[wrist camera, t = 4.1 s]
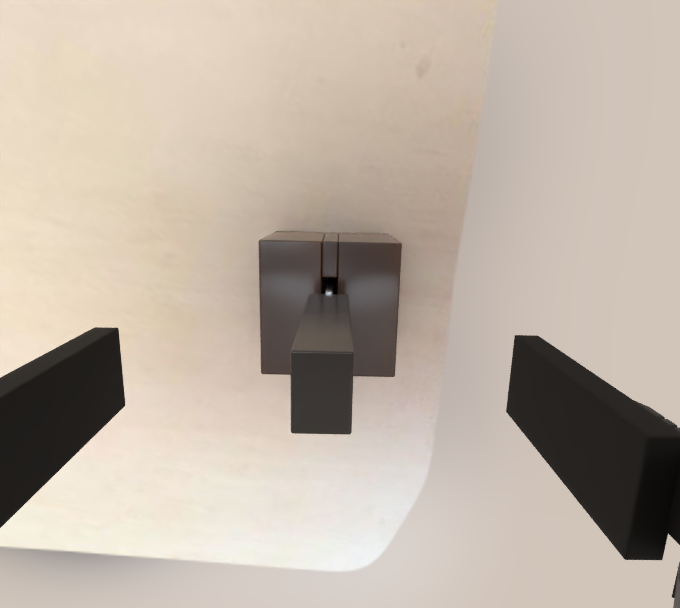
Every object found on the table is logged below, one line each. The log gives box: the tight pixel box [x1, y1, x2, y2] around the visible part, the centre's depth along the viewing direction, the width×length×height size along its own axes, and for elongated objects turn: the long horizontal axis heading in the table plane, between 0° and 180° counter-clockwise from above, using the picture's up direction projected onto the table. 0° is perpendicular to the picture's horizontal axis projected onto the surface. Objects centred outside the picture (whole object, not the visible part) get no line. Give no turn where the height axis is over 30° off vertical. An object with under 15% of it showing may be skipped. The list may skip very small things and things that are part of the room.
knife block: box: [259, 231, 402, 377], centre depth 26 cm, size 7×7×6 cm
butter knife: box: [291, 277, 354, 434], centre depth 21 cm, size 2×3×16 cm, turn 179°
